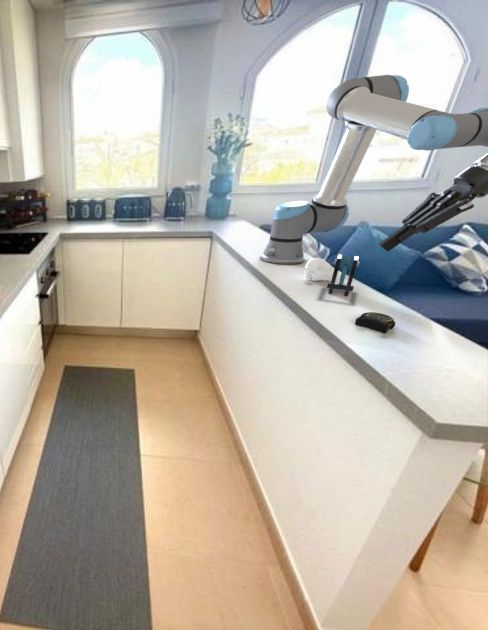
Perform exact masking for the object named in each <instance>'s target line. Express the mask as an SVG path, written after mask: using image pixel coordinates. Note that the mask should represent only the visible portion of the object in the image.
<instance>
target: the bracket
mask: <svg viewBox="0 0 488 630" xmlns="http://www.w3.org/2000/svg"><path fill="white" fill-rule="evenodd" d="M336 257H337V258H336V259H334V262H333V265H334V267H333V268H334V272H333V276H332V280H331V281H330V283H332V284H335V281H336V277H337V273H338V272H339V269H340V267H341V263H342V259H343V254H338V255H337V256H336ZM359 258H360V256H358V255H357V256H356V255H355V256H353V259H352V263H351V266H350V272H349V275H348V278H347V282H346V285H348V286H352V283H353V281H354V280H353V279H354V276H355V273H356V271H357V270H356V269H357V267H358V268H359V266H360V263H361V262H360V261H359ZM333 293H334V289H329V288H328V292H327V294H329V295H333ZM349 295H350V291H344V293H343V297H349Z"/></svg>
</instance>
